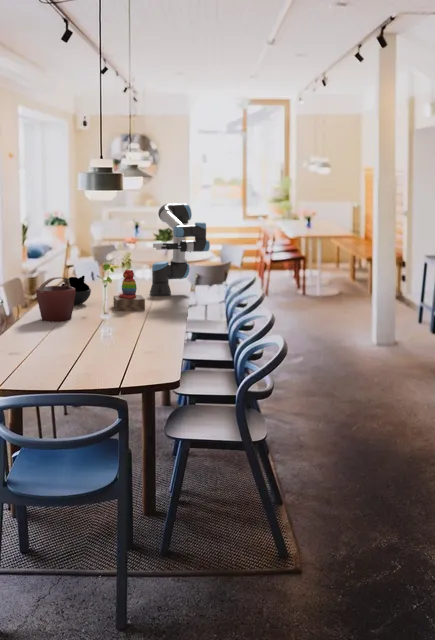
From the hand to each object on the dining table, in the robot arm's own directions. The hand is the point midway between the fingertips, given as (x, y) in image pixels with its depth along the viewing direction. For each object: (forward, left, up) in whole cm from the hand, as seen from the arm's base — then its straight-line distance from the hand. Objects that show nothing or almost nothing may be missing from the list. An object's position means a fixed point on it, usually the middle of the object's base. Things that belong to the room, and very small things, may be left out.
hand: (154, 246), depth 521 cm
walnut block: (+24, +4, -38) cm, 45 cm away
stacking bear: (+24, +4, -31) cm, 40 cm away
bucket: (+80, +8, -38) cm, 89 cm away
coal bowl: (+42, -30, -38) cm, 64 cm away
